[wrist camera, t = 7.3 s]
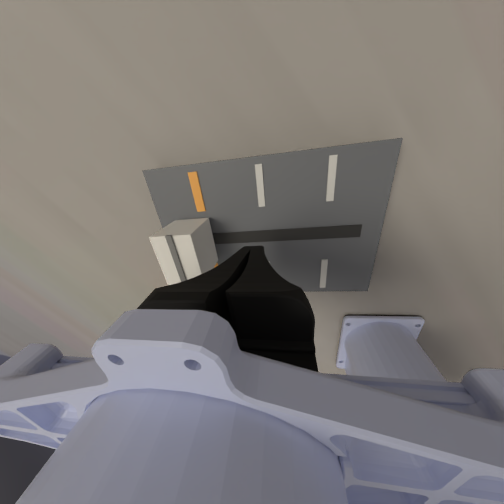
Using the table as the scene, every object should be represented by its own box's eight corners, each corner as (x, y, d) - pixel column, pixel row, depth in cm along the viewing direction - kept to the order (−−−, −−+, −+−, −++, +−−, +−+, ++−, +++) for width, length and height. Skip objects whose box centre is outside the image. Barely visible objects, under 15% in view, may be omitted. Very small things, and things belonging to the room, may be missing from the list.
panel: (359, 278, 18) (368, 291, 17) (192, 280, 21) (184, 292, 20) (385, 140, 13) (403, 137, 11) (157, 168, 16) (141, 170, 14)
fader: (218, 260, 17) (203, 286, 14) (188, 261, 17) (167, 286, 14) (208, 217, 15) (189, 234, 12) (174, 219, 15) (147, 237, 12)
